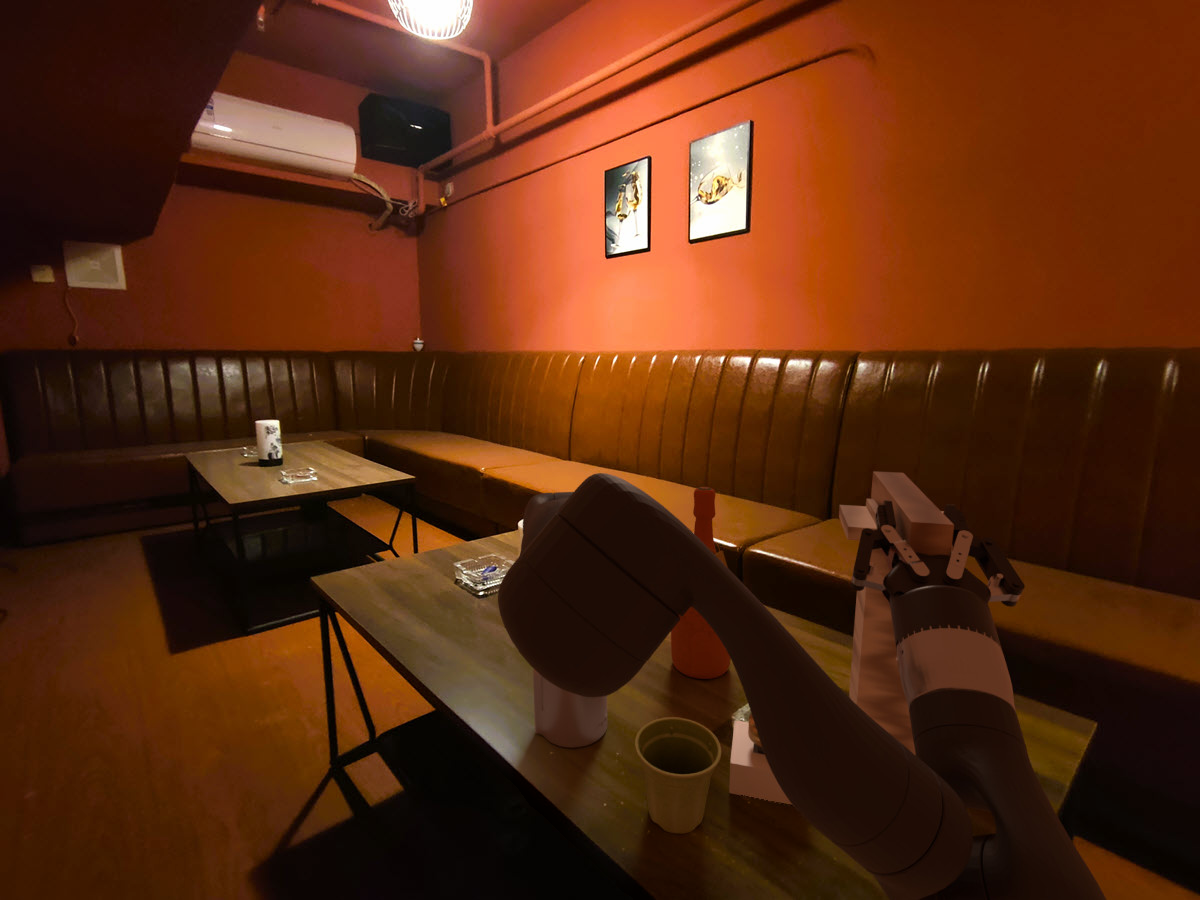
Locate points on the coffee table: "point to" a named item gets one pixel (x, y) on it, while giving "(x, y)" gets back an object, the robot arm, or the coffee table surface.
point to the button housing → (751, 769)
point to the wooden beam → (914, 514)
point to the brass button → (754, 734)
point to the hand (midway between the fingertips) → (916, 508)
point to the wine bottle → (692, 635)
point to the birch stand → (875, 642)
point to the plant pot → (677, 770)
